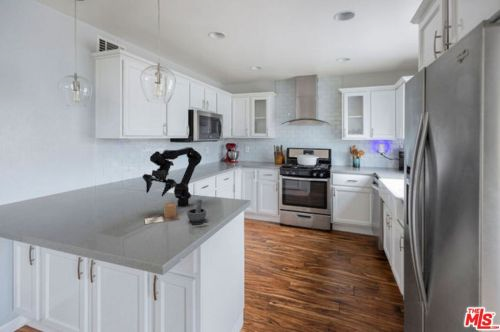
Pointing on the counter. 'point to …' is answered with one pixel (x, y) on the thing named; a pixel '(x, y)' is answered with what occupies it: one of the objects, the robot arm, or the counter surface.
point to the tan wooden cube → (169, 210)
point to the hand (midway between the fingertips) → (154, 194)
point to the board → (159, 219)
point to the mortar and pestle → (197, 214)
